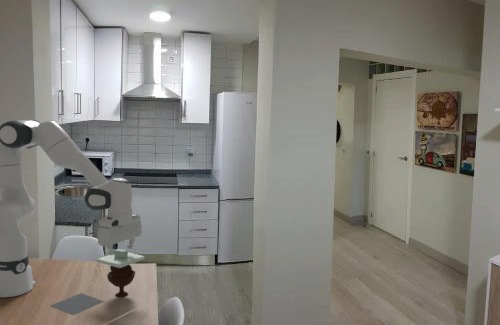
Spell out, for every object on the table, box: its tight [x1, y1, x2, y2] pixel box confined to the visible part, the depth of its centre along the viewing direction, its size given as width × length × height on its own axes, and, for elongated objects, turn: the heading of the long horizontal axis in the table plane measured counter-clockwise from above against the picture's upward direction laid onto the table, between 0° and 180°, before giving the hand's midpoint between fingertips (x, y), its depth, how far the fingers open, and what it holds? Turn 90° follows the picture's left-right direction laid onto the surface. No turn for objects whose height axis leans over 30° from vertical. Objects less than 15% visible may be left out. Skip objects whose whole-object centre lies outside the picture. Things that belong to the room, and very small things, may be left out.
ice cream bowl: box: [106, 264, 136, 298], centre depth 170 cm, size 11×11×15 cm
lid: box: [96, 248, 145, 268], centre depth 169 cm, size 13×13×4 cm
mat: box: [50, 293, 105, 316], centre depth 162 cm, size 14×14×1 cm
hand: (121, 251), depth 169 cm, fingers open, 8 cm apart
